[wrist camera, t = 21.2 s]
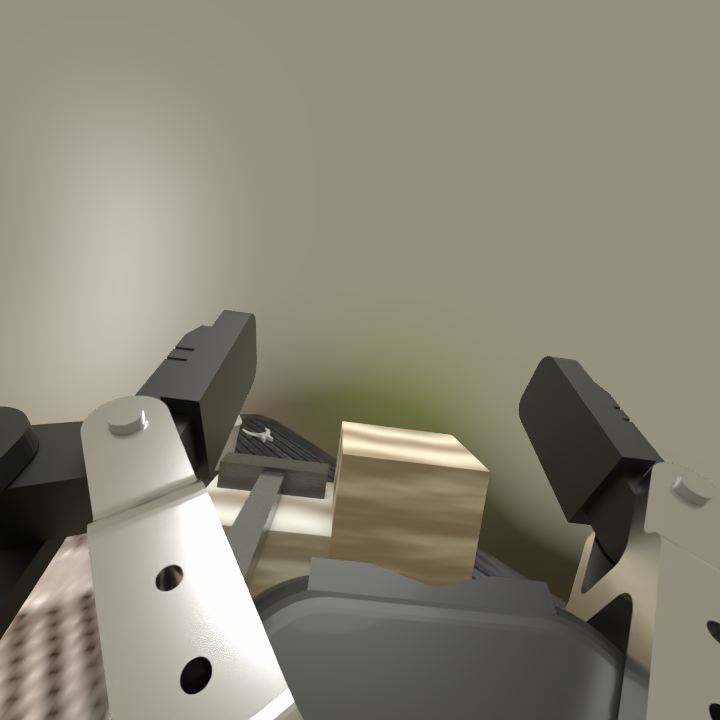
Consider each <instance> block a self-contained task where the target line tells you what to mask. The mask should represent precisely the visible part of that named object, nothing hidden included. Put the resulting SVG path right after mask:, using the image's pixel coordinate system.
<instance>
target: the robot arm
mask: <svg viewBox="0 0 720 720" xmlns="http://www.w3.org/2000/svg"><path fill="white" fill-rule="evenodd" d="M256 364H257V356H256V320H255V316H254V314H249V313H243V312H236V311H229V310H224V311H223V312H222V314H221V315H220V316H219V318H218V319H217V320H216V322H215V323H214V324H213V326H212V327H210V326H200V327H198V328H196V329H195V330H193V331H191V332H190V333H187V334H186V335H185V336H184V337H183V338H182V339H181V341H180V342H179V343H178V344H177V346H176V348H175V349H173V350H172V351H171V353H170V354H169V355H168V356H167V359H165V360H164V361H163V362H162V364H161V365H160V366H159V367H158V368H157V370H156V371H155V372H154V373H153V374H152V376H151V377H150V378H149V379H148V380H147V382H146V383H145V384H144V385H143V386H142V388H141V389H140V390H139V391H138V392H137V394H136V395H135V396H128V397H124V398H119V399H116V400H113V401H110V402H108V403H106V404H104V405H102V406H100V407H98V408H97V409H95V410H94V411H93V412H92V413H91V414H89V416H88V417H87V418H86V419H85V420H84V422H80V423H71V424H62V425H52V426H43V427H33V428H32V426H31V424H30V422H29V420H28V418H27V416H26V415H25V414H24V413H23V412H22V411H19V410H18V409H15V408H11V407H0V639H1V638H2V636H3V635H4V633H5V632H6V630H7V629H8V627H9V625H10V624H11V622H12V621H13V619H14V618H15V616H16V615H17V613H18V611H19V610H20V608H21V607H22V605H23V604H24V602H25V601H26V599H27V598H28V596H29V594H30V593H31V591H32V590H33V588H34V587H35V585H36V584H37V582H38V581H39V579H40V577H41V576H42V574H43V573H44V571H45V570H46V568H47V567H48V565H49V563H50V562H51V560H52V559H53V557H54V556H55V554H56V553H57V551H58V550H59V548H60V546H61V545H62V543H63V542H64V540H65V539H66V537H68V536H74V535H79V534H84V533H87V540H88V548H89V556H90V563H91V571H92V578H93V586H94V594H95V601H96V609H97V617H98V624H99V632H100V640H101V647H102V655H103V663H104V670H105V678H106V686H107V693H108V701H109V709H110V716H111V720H720V490H719V489H718V488H717V487H716V486H715V485H714V484H712V483H711V482H710V481H708V480H707V479H706V478H704V477H703V476H701V475H699V474H698V473H696V472H694V471H692V470H690V469H688V468H686V467H683V466H681V465H677V464H674V463H668V462H664V460H663V459H662V458H661V457H660V456H659V455H658V453H657V452H656V451H655V449H654V448H653V447H652V446H651V445H650V443H649V442H648V441H647V440H646V438H645V437H644V436H643V435H642V433H641V432H640V431H639V430H638V429H637V427H636V426H635V425H634V424H633V422H629V420H630V419H629V418H628V416H627V415H626V414H625V413H624V411H623V410H620V406H619V405H618V404H617V403H616V402H615V400H614V399H613V398H612V397H611V395H610V394H609V393H608V392H607V391H605V390H604V389H603V388H601V387H600V386H599V385H597V384H596V383H595V382H593V380H592V379H591V378H590V376H589V375H588V374H587V372H586V371H585V370H584V369H583V367H582V366H581V365H580V364H579V363H578V362H577V361H576V360H571V359H564V358H557V357H550V356H547V357H545V358H543V359H542V360H541V362H540V363H539V365H538V367H537V369H536V370H535V372H534V374H533V377H532V378H531V380H530V382H529V384H528V386H527V388H526V390H525V392H524V394H523V395H522V398H521V400H520V404H519V416H520V420H521V422H522V424H523V426H524V428H525V430H526V433H527V435H528V437H529V439H530V441H531V443H532V445H533V448H534V450H535V452H536V454H537V456H538V459H539V461H540V463H541V465H542V467H543V469H544V471H545V474H546V476H547V478H548V480H549V482H550V484H551V486H552V489H553V491H554V493H555V495H556V497H557V500H558V502H559V504H560V506H561V508H562V510H563V512H564V515H565V517H566V519H567V521H568V522H570V523H579V524H587V525H591V526H592V528H593V530H594V531H593V533H592V534H591V535H590V536H589V537H588V538H587V540H586V543H585V547H584V550H583V554H582V557H581V561H580V565H579V568H578V571H577V575H576V579H575V582H574V585H573V589H572V593H571V596H570V599H569V602H568V604H567V606H566V608H565V609H563V608H561V607H559V606H557V605H555V604H554V603H553V601H552V598H551V595H550V592H549V590H548V587H547V584H546V582H539V581H531V580H521V579H512V578H503V577H493V576H488V577H483V578H478V579H473V580H468V581H463V582H458V583H453V584H448V585H443V586H429V585H426V584H423V583H420V582H418V581H415V580H413V579H410V578H407V577H405V576H402V575H400V574H397V573H394V572H392V571H389V570H387V569H384V568H381V567H379V566H376V565H374V564H371V563H362V562H353V561H344V560H334V559H325V558H316V557H312V560H311V567H310V574H309V575H306V576H301V577H296V578H293V579H290V580H287V581H284V582H281V583H279V584H277V585H274V586H272V587H270V588H268V589H266V590H265V591H263V592H261V593H260V594H258V595H257V596H255V597H253V598H252V599H251V596H250V594H249V591H248V589H247V587H246V584H245V582H244V579H243V577H242V574H241V572H240V570H239V567H238V565H237V562H236V560H235V558H234V555H233V553H232V550H231V548H230V545H229V543H228V541H227V538H226V536H225V533H224V531H223V528H222V526H221V524H220V521H219V519H218V516H217V514H216V512H215V509H214V507H213V504H212V502H211V499H210V497H209V495H208V492H207V490H206V488H205V486H204V484H203V482H202V480H201V479H198V480H197V478H204V479H211V477H212V475H213V473H214V470H215V468H216V466H217V463H218V461H219V459H220V457H221V454H222V452H223V450H224V448H225V445H226V443H227V441H228V438H229V436H230V434H231V432H232V429H233V427H234V425H235V423H236V420H237V418H238V416H239V413H240V411H241V409H242V407H243V404H244V402H245V400H246V398H247V395H248V393H249V391H250V389H251V386H252V384H253V381H254V378H255V373H256Z"/></svg>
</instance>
